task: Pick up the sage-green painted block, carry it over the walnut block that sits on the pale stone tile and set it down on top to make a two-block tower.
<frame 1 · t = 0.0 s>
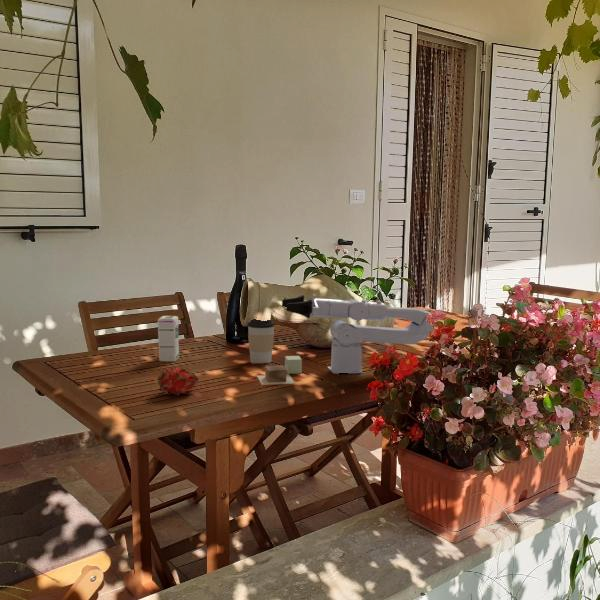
hand: (284, 305, 201), 22 cm above the table, tool horizontal, fingers open, 7 cm apart
walnut block: (275, 379, 196), resting on stone tile
sage block: (293, 373, 205), on the table
stone tile: (275, 380, 196), on the table
dragon fruit: (178, 394, 182), on the table
coffee cup: (260, 362, 218), on the table
syrup box: (169, 360, 219), on the table
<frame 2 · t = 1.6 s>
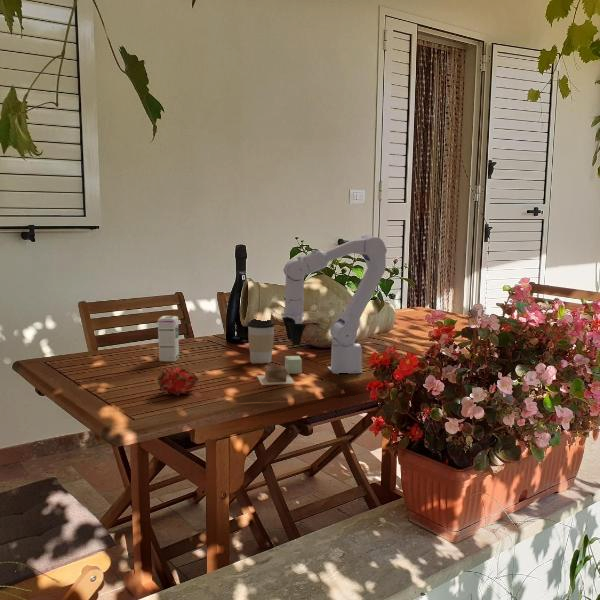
hand: (293, 342, 203), 10 cm above the table, tool pointing down, fingers open, 7 cm apart
nothing on the table moved.
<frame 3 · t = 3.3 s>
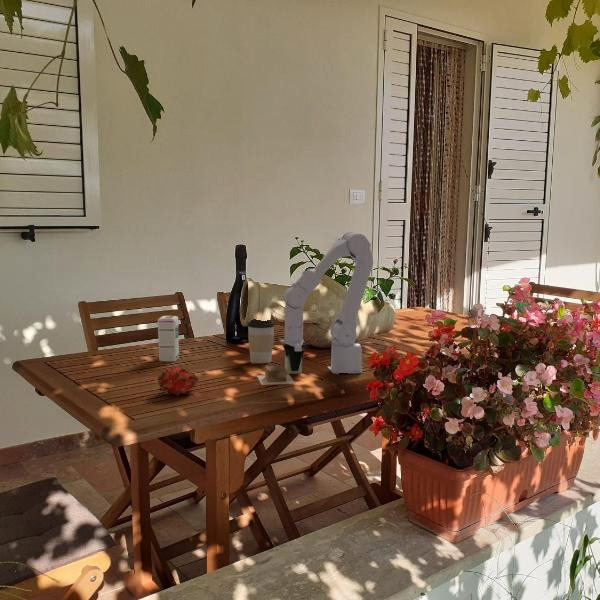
hand: (293, 368, 205), 1 cm above the table, tool pointing down, fingers closed on sage block, 4 cm apart
sage block: (293, 373, 205), on the table, touching gripper
everything else where it was.
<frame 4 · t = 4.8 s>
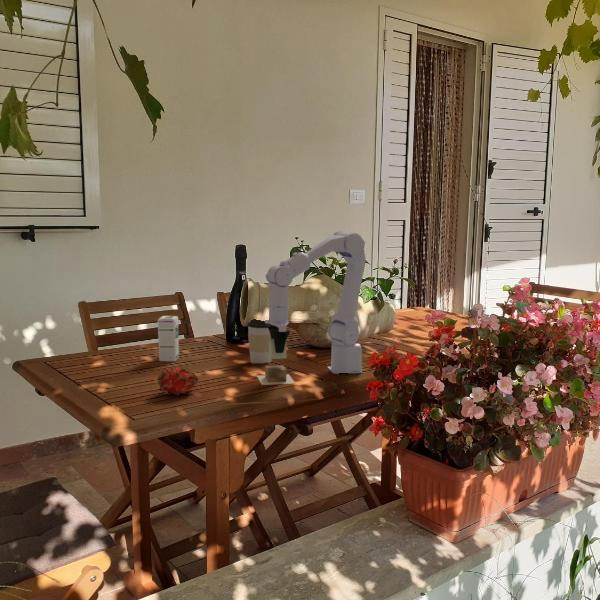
hand: (278, 350, 196), 9 cm above the table, tool pointing down, fingers closed on sage block, 4 cm apart
sage block: (277, 356, 196), point 7 cm above the table, touching gripper
everything else where it was.
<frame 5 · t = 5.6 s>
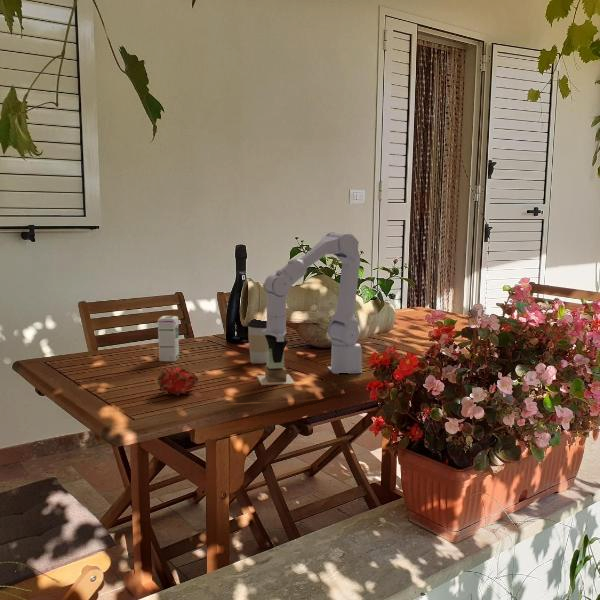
hand: (275, 360, 195), 6 cm above the table, tool pointing down, fingers closed on sage block, 4 cm apart
sage block: (275, 366, 195), point 5 cm above the table, touching gripper
everything else where it was.
when the fingers open (6 cm above the table, at t = 6.2 s): sage block stays where it is, resting on walnut block.
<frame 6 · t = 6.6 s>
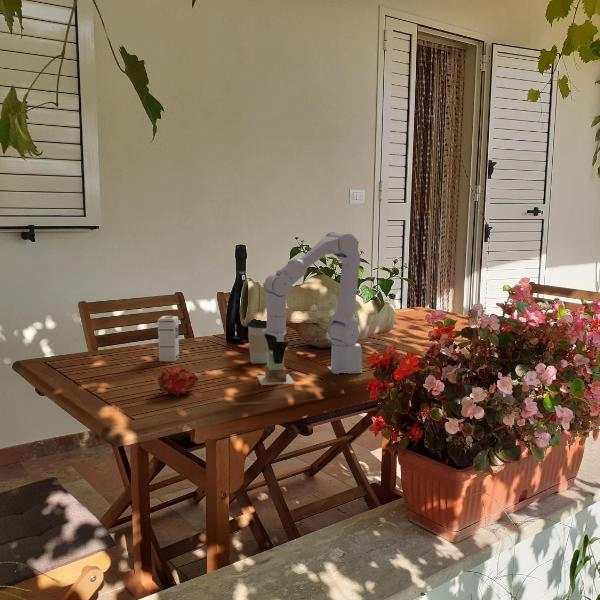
hand: (275, 360, 195), 6 cm above the table, tool pointing down, fingers open, 7 cm apart
walnut block: (275, 379, 196), resting on stone tile, touching sage block
sage block: (275, 368, 195), point 4 cm above the table, touching walnut block
everything else where it was.
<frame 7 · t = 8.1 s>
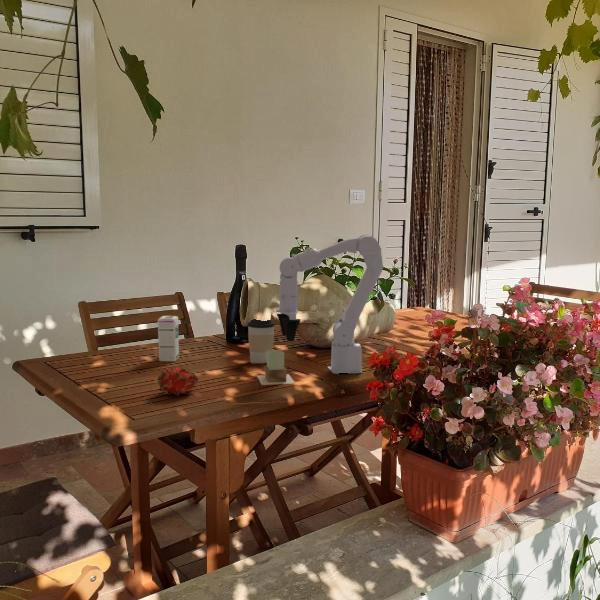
hand: (288, 338, 207), 10 cm above the table, tool pointing down, fingers open, 7 cm apart
nothing on the table moved.
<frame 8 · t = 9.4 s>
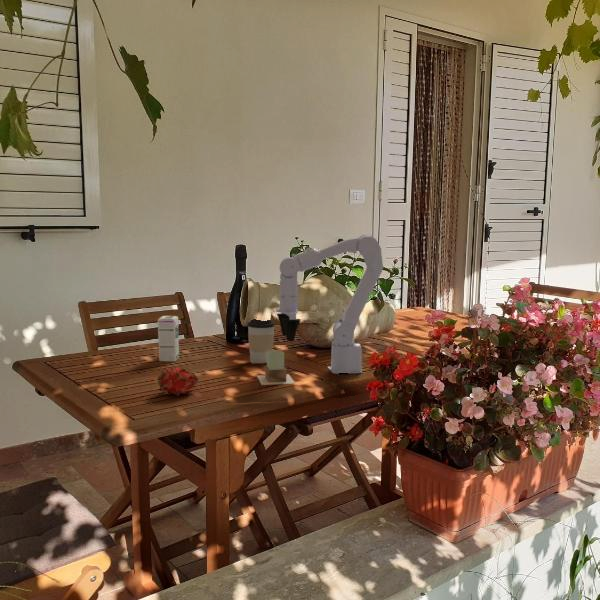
hand: (288, 338, 207), 10 cm above the table, tool pointing down, fingers open, 7 cm apart
nothing on the table moved.
at the end: sage block 0.1 cm off-centre on the walnut block, point 3.5 cm above the walnut block's base; sage block tilted 0°; walnut block moved 0.0 cm from its start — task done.
